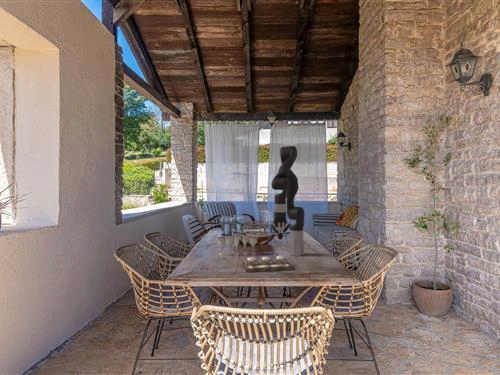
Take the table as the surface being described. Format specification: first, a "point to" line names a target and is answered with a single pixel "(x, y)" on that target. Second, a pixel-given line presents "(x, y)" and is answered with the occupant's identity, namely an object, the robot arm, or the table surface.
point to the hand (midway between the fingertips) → (280, 239)
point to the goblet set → (236, 239)
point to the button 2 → (280, 258)
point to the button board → (266, 265)
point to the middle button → (265, 258)
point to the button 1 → (251, 259)
